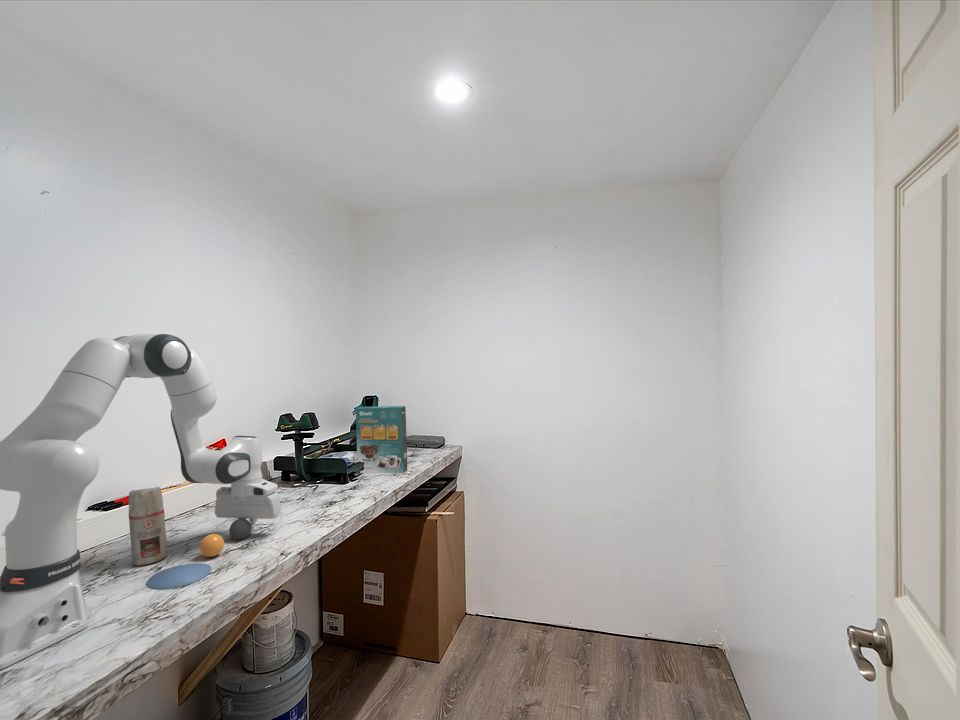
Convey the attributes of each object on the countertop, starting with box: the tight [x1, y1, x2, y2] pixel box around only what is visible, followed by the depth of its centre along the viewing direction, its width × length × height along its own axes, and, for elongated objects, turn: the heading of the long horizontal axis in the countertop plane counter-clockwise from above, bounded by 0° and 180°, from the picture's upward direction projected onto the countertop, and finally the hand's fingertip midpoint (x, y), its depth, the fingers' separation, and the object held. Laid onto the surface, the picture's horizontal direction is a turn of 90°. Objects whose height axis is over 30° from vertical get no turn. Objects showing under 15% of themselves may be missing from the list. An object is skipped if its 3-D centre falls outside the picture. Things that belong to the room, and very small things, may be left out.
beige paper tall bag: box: [128, 486, 168, 566], centre depth 135 cm, size 8×8×20 cm
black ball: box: [228, 518, 252, 541], centre depth 149 cm, size 6×6×6 cm
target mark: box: [146, 562, 212, 590], centre depth 125 cm, size 14×14×1 cm
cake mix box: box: [355, 405, 408, 474], centre depth 229 cm, size 22×6×30 cm, turn 82°
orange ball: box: [199, 533, 225, 558], centre depth 137 cm, size 6×6×6 cm
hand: (248, 531), depth 153 cm, fingers closed
